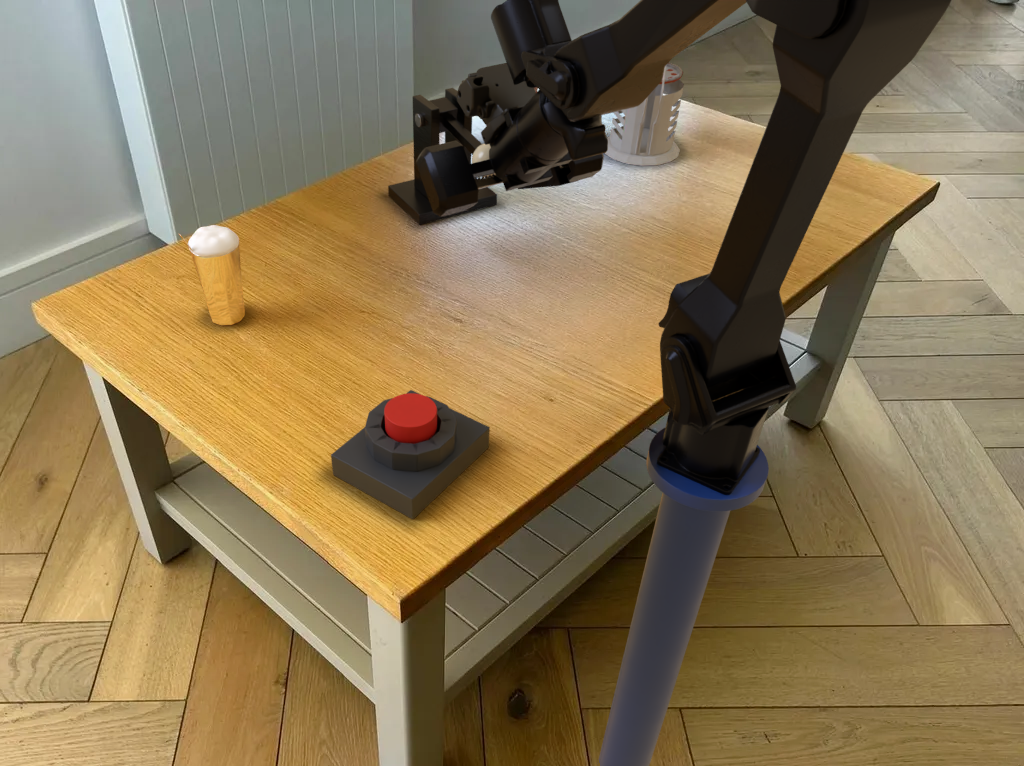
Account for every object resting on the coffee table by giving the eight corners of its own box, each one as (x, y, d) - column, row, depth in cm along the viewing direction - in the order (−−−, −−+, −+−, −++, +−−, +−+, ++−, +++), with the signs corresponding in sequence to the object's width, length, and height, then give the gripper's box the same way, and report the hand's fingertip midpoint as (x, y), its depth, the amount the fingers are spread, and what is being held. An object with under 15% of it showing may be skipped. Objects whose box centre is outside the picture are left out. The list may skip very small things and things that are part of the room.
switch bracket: (497, 204, 103) (501, 102, 95) (419, 225, 100) (417, 120, 92) (462, 177, 108) (464, 77, 100) (388, 195, 105) (384, 94, 97)
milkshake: (188, 318, 87) (166, 224, 80) (235, 298, 89) (219, 205, 82) (211, 338, 84) (191, 243, 77) (260, 317, 87) (245, 223, 80)
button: (447, 423, 69) (447, 406, 68) (415, 451, 67) (415, 434, 66) (406, 403, 71) (406, 386, 70) (374, 430, 69) (373, 413, 68)
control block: (489, 447, 73) (490, 409, 70) (413, 520, 67) (411, 481, 64) (411, 409, 76) (410, 372, 74) (332, 475, 70) (328, 437, 68)
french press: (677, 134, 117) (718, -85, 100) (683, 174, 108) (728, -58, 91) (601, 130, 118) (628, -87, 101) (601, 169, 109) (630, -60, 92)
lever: (509, 179, 92) (513, 149, 90) (480, 187, 91) (483, 156, 89) (448, 120, 100) (450, 91, 97) (421, 126, 99) (423, 97, 96)
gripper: (601, 28, 84) (529, 105, 98) (423, 63, 77) (375, 140, 92) (640, 141, 84) (563, 201, 98) (466, 185, 77) (411, 242, 92)
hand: (480, 194), depth 95 cm, fingers open, 9 cm apart
